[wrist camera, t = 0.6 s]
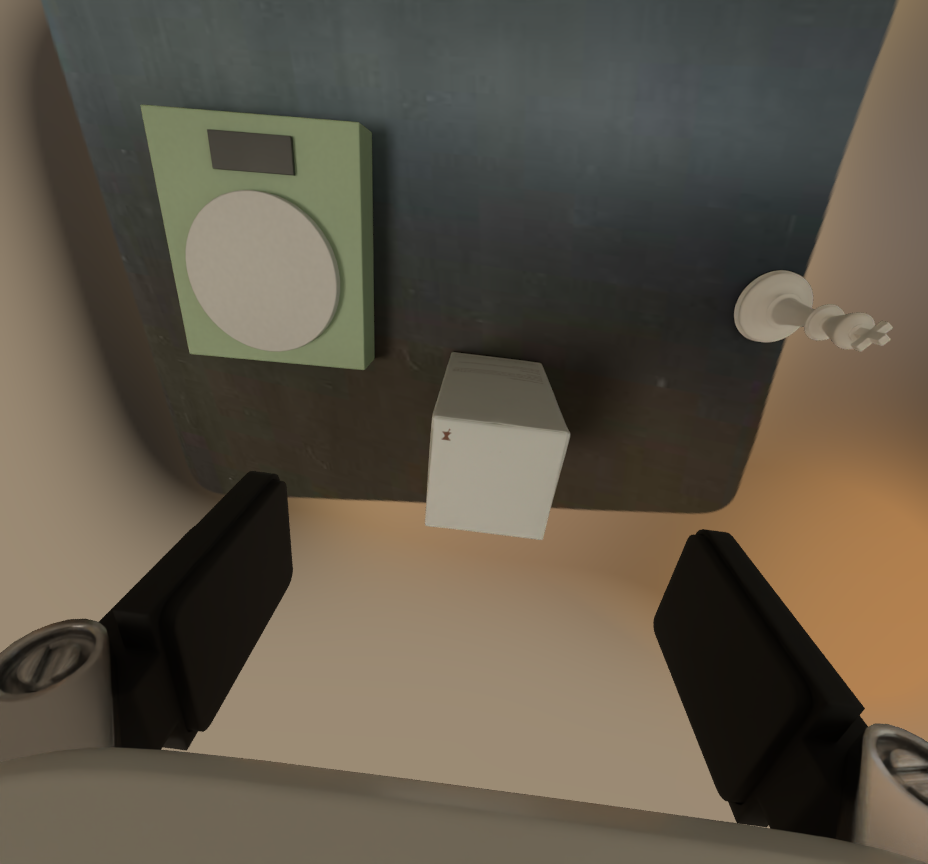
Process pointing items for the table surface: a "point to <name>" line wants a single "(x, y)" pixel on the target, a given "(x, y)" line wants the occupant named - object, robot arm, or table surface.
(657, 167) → the table surface
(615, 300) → the table surface
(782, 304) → the chess piece
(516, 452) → the white packaging box
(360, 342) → the scale
